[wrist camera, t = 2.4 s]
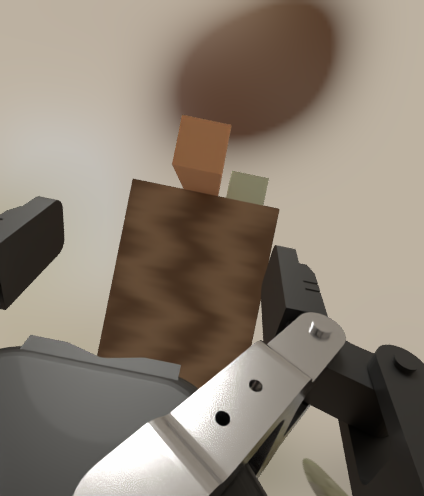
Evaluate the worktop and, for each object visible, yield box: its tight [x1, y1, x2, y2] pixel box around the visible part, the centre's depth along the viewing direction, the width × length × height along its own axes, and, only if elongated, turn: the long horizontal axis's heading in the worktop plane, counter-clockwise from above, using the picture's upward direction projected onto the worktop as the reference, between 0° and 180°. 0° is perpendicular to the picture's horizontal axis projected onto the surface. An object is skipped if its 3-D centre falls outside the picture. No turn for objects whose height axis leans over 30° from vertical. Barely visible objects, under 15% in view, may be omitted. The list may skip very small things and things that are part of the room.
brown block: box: [172, 115, 231, 196], centre depth 31 cm, size 3×22×3 cm, turn 0°
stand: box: [97, 179, 279, 389], centre depth 35 cm, size 13×13×32 cm
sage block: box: [226, 171, 269, 205], centre depth 38 cm, size 4×4×4 cm
